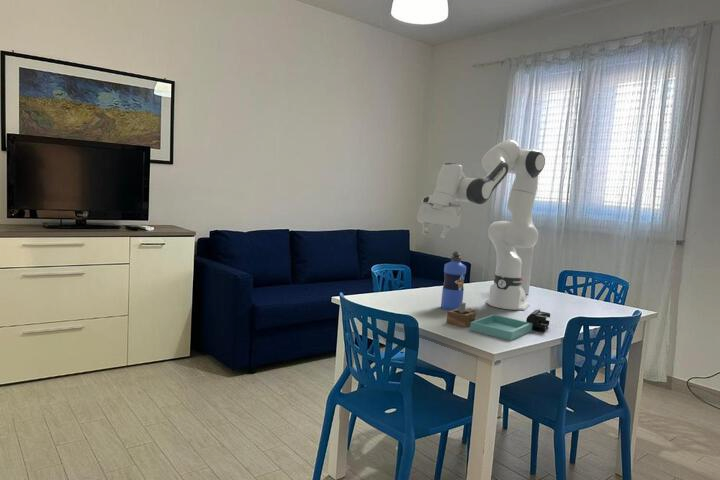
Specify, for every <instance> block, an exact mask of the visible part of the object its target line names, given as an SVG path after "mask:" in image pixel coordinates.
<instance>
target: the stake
mask: <svg viewBox="0 0 720 480" xmlns="http://www.w3.org/2000/svg"><path fill="white" fill-rule="evenodd" d="M465 309H466V302H462V303H459V312H458V313H461V314H465Z"/></svg>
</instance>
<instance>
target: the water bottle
mask: <svg viewBox="0 0 720 480" xmlns="http://www.w3.org/2000/svg"><path fill="white" fill-rule="evenodd" d="M451 254H452V256H451V257H450V261H449V262H447V263H445V264H444V265H443V266H444V268H443V272H444V273H443V275H444V280H443V281H444V282H443V286H442V292H441V300H440V301H441V302H440V303H441V304H440V308H441V309H442V310H445V311H451V310H454V309H459V303H464V302H463V299H464V281H465V277H466V274H467V266H466V265H465V264H463V263H462V262H461V261H462V257H461V256H462V254H461V253H460V251H453V252H452V253H451Z"/></svg>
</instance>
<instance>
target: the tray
mask: <svg viewBox="0 0 720 480" xmlns="http://www.w3.org/2000/svg"><path fill="white" fill-rule="evenodd" d="M532 324H533V323H530V322H526V320H520V319H516V318H512V317H507V316H503V315H500V314H499V315H498V314H494V313H493V314H490V315H487V316H484V317H481V318H478V319H475V321H472V322H471V324H470V326H469V327H470V328H469V331H471V332H472V331H473V332H475V333H480V334H483V335H487V336H491V337H494V338H495V337H496V338H500V339H503V340H506V341H507V340H508V341H514V340H516V339H517V338H520V337H522V336H524V335H526V334H528V333H530V332H532V331H533V330H532Z"/></svg>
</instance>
